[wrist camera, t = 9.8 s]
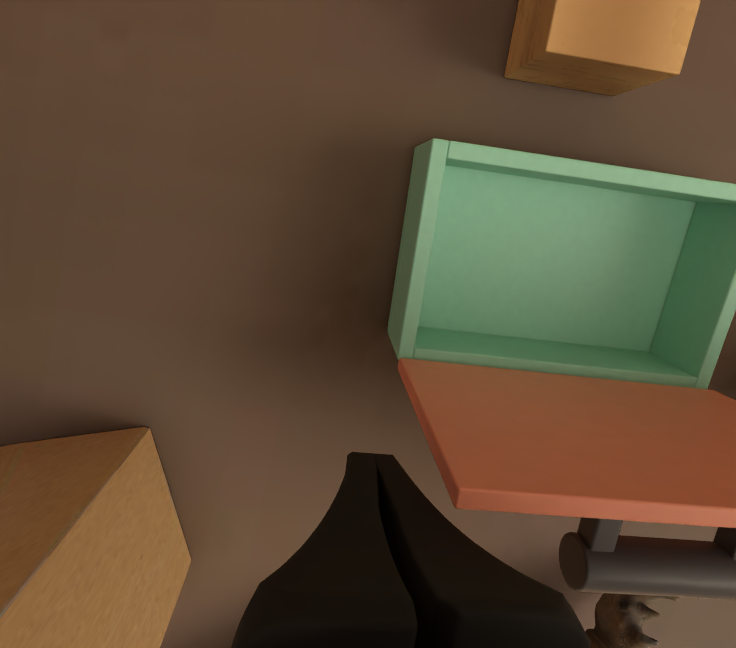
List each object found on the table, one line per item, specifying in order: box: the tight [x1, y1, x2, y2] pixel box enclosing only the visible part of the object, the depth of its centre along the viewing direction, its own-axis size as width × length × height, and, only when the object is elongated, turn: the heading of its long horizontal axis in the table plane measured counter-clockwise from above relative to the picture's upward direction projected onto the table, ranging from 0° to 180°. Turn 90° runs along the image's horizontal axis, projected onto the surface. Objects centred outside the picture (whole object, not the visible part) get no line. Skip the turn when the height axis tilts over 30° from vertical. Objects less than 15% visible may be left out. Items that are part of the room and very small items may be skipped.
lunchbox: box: [387, 138, 736, 389], centre depth 20 cm, size 8×13×4 cm, turn 82°
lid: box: [398, 358, 736, 600], centre depth 15 cm, size 9×13×4 cm
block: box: [504, 0, 701, 96], centre depth 17 cm, size 5×4×4 cm
